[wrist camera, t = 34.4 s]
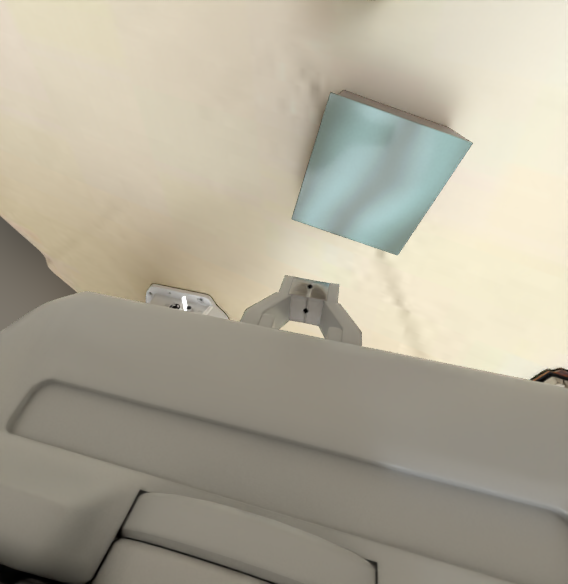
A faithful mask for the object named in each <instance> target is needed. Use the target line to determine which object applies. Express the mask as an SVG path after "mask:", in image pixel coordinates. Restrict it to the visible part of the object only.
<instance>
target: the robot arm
mask: <svg viewBox="0 0 568 584" xmlns="http://www.w3.org/2000/svg"><path fill="white" fill-rule="evenodd" d="M338 294H339V284H334V283H326V282H320V281H314V280H309V279H304V278H299V277H293V276H288V275H285V276H284V279H283V282H282V284H281V287H280V290H279V292H275V293H274V294H272V295H270V296H268V297H267V298H265V299H263V300H261V301H260V302H258V303H256V304H254V305H253V306H251V307H249V308H247V309H246V310H245V312H244V314H243V316H242V318H241V320H240V322H239V321H234V320H229V319H228V317H227V316H226V314H225V313H224V312H223V311H222V310H221V309H219V308H218V307H217V306H216V304H215V303H214V301H213V299H212V298H211V297H210V296H209V295H206V294H201V293H197V292H192V291H187V290H182V289H177V288H172V287H167V286H162V285H157V284H152V285H151V286H150V287H149V289H148V290H147V293H146V303H144V302H139V301H134V300H129V299H124V298H119V297H114V296H109V295H105V294H100V293H96V292H88V291H85V292H80V293H76V294H72V295H69V296H65V297H62V298H59V299H56V300H53V301H49V302H47V303H44V304H43V305H41V306H39V307H37V308H35V309H34V310H32V311H30V312H29V313H27V314H26V315H24V316H23V317H21V318H20V319H18V320H17V321H15V322H14V323H12V324H11V325H9V326H8V327H6V328H5V329H3V330H2V331H1V332H0V584H568V389H567V388H564V387H561V386H557V385H552V384H547V383H542V382H537V381H532V380H527V379H522V378H517V377H512V376H507V375H502V374H497V373H492V372H487V371H482V370H477V369H472V368H467V367H462V366H457V365H452V364H447V363H442V362H437V361H432V360H427V359H422V358H418V357H413V356H408V355H403V354H398V353H393V352H388V351H383V350H378V349H373V348H368V347H363V346H362V332H361V330H360V329H359V328H358V327H357V325H356V324H355V323H354V321H353V320H352V319H351V317H350V316H349V315H348V313H347V312H346V311H345V310H344V308H343V307H342V306H341V304H338ZM289 320H291V321H297V322H303V323H307V324H312V325H316V326H319V328H320V330H321V332H322V334H323V336H324V338H325V339H323V338H318V337H313V336H308V335H303V334H298V333H293V332H288V331H283V330H279V329H280V328H281V327H282V326H283V325H285V324H286V323H287V322H288V321H289Z"/></svg>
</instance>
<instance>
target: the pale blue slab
mask: <svg viewBox="0 0 568 584" xmlns="http://www.w3.org/2000/svg"><path fill="white" fill-rule="evenodd" d="M472 144H473V143H472V142H470V141H467V140H465V139H462V138H459V137H456V136H453V135H451V134H448V133H445V132H442V131H439V130H437V129H434V128H431V127H428V126H425V125H422V124H420V123H417V122H414V121H411V120H408V119H406V118H403V117H400V116H397V115H394V114H391V113H389V112H386V111H383V110H380V109H377V108H375V107H372V106H369V105H366V104H363V103H360V102H358V101H355V100H352V99H349V98H346V97H344V96H341V95H338V94H335V93H332V92H331V93H330V95H329V98H328V102H327V105H326V108H325V111H324V115H323V118H322V121H321V124H320V128H319V131H318V134H317V137H316V141H315V144H314V147H313V151H312V154H311V157H310V160H309V164H308V167H307V170H306V173H305V177H304V180H303V183H302V186H301V190H300V193H299V196H298V199H297V203H296V206H295V209H294V212H293V216H292V220H295V221H298V222H301V223H304V224H307V225H310V226H313V227H316V228H319V229H322V230H324V231H327V232H330V233H333V234H336V235H339V236H342V237H345V238H348V239H351V240H354V241H357V242H360V243H363V244H365V245H368V246H371V247H374V248H377V249H380V250H383V251H386V252H389V253H392V254H395V255H398V254H399V253H400V251H401V250H402V248H403V247H404V245H405V244H406V242H407V241H408V239H409V238H410V236H411V235H412V233H413V232H414V230H415V229H416V227H417V226H418V224H419V223H420V221H421V220H422V218H423V217H424V215H425V214H426V213H427V211H428V210H429V208H430V207H431V205H432V204H433V202H434V201H435V199H436V198H437V196H438V195H439V193H440V192H441V190H442V189H443V187H444V186H445V184H446V183H447V181H448V180H449V178H450V177H451V175H452V174H453V172H454V171H455V169H456V168H457V166H458V165H459V163H460V162H461V160H462V159H463V157H464V156H465V154H466V153H467V151H468V150H469V148H470V147H471V145H472Z"/></svg>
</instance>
